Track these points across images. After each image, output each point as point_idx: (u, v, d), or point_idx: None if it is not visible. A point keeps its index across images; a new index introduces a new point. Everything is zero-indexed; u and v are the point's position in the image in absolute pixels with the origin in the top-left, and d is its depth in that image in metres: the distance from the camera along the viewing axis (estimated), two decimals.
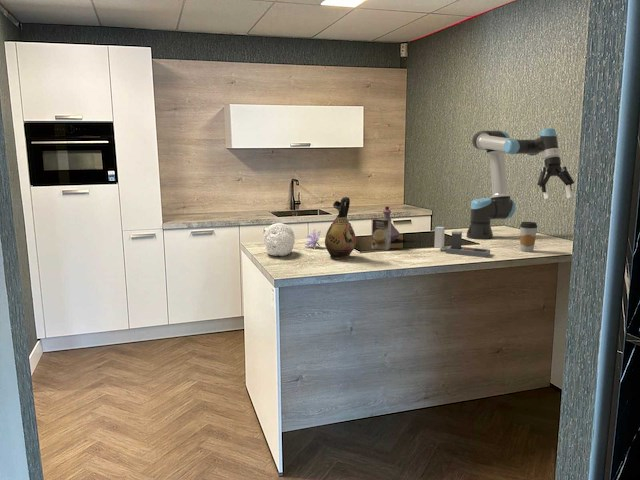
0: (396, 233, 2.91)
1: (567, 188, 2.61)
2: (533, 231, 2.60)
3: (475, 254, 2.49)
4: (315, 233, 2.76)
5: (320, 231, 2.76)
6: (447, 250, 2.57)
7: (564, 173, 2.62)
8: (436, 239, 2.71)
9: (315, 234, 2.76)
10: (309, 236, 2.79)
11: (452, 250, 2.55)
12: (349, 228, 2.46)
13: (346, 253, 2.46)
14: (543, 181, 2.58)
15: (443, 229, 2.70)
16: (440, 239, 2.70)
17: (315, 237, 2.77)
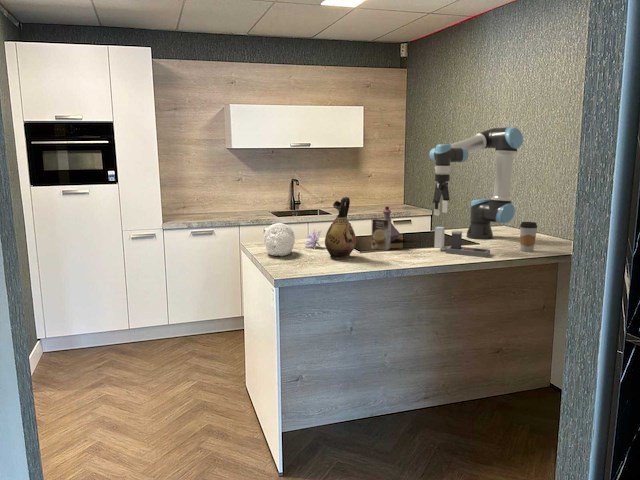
0: (396, 233, 2.91)
1: None
2: (533, 231, 2.60)
3: (475, 254, 2.49)
4: (315, 233, 2.76)
5: (320, 231, 2.76)
6: (447, 250, 2.57)
7: None
8: (436, 239, 2.71)
9: (315, 234, 2.76)
10: (309, 236, 2.79)
11: (452, 250, 2.55)
12: (349, 228, 2.46)
13: (346, 253, 2.46)
14: None
15: (443, 229, 2.70)
16: (440, 239, 2.70)
17: (315, 237, 2.77)
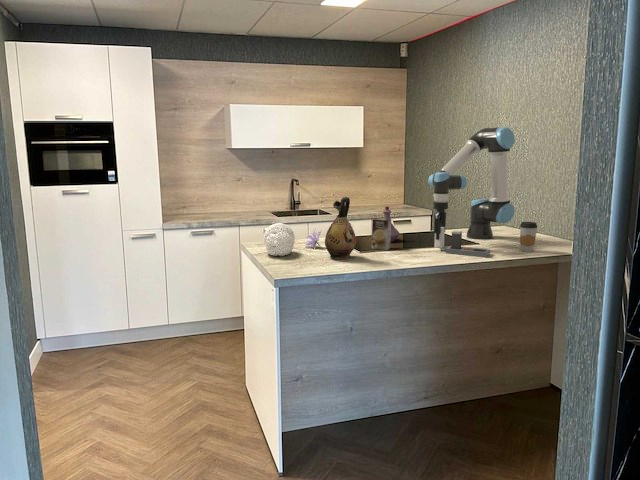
0: (396, 233, 2.91)
1: None
2: (533, 231, 2.60)
3: (475, 254, 2.49)
4: (315, 233, 2.76)
5: (320, 231, 2.76)
6: (447, 250, 2.57)
7: None
8: None
9: (315, 234, 2.76)
10: (309, 236, 2.79)
11: (452, 250, 2.55)
12: (349, 228, 2.46)
13: (346, 253, 2.46)
14: None
15: (443, 229, 2.70)
16: None
17: (315, 237, 2.77)
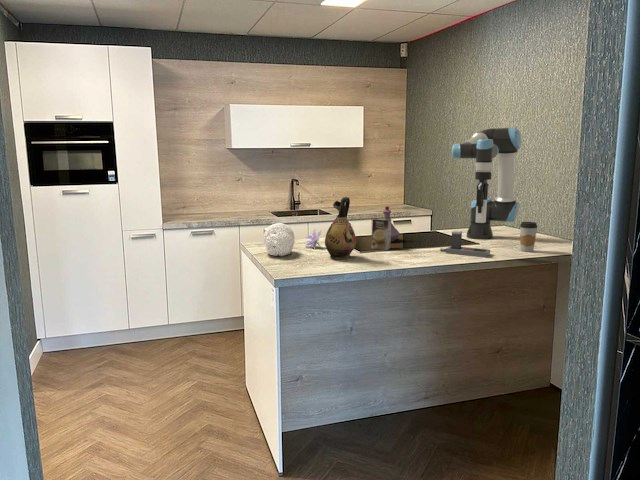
0: (396, 233, 2.91)
1: None
2: (533, 231, 2.60)
3: (475, 254, 2.49)
4: (315, 233, 2.76)
5: (320, 231, 2.76)
6: (447, 250, 2.57)
7: None
8: None
9: (315, 234, 2.76)
10: (309, 236, 2.79)
11: (452, 250, 2.55)
12: (349, 228, 2.46)
13: (346, 253, 2.46)
14: None
15: (485, 202, 2.47)
16: None
17: (315, 237, 2.77)
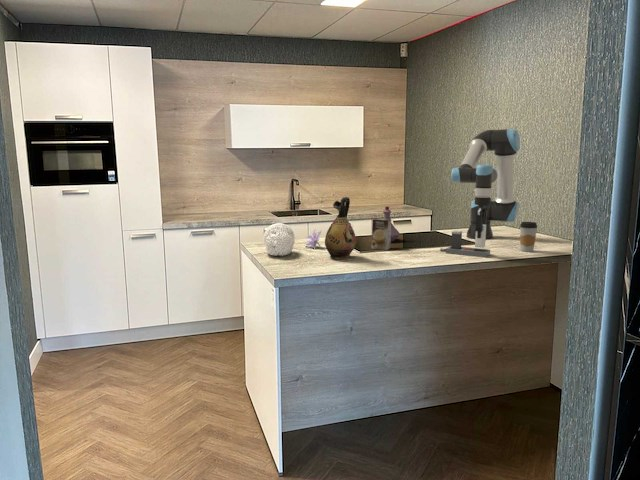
0: (396, 233, 2.91)
1: None
2: (533, 231, 2.60)
3: (475, 254, 2.49)
4: (315, 233, 2.76)
5: (320, 231, 2.76)
6: (447, 250, 2.57)
7: None
8: None
9: (315, 234, 2.76)
10: (309, 236, 2.79)
11: (452, 250, 2.55)
12: (349, 228, 2.46)
13: (346, 253, 2.46)
14: None
15: (485, 227, 2.49)
16: (482, 237, 2.49)
17: (315, 237, 2.77)
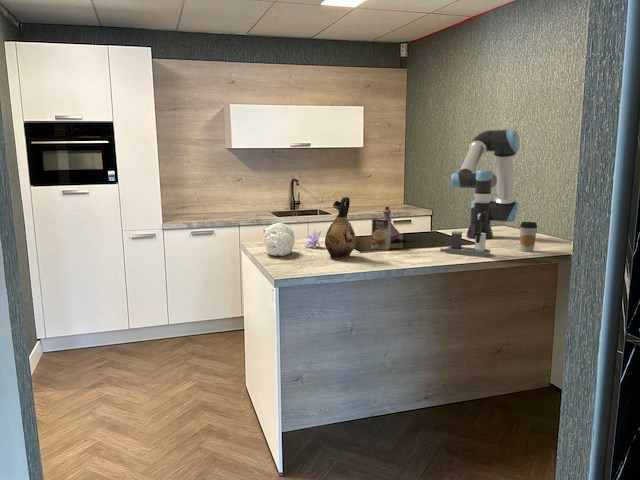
0: (396, 233, 2.91)
1: None
2: (533, 231, 2.60)
3: (475, 254, 2.49)
4: (315, 233, 2.76)
5: (320, 231, 2.76)
6: (447, 250, 2.57)
7: None
8: None
9: (315, 234, 2.76)
10: (309, 236, 2.79)
11: (452, 250, 2.55)
12: (349, 228, 2.46)
13: (346, 253, 2.46)
14: None
15: (484, 235, 2.50)
16: (481, 246, 2.50)
17: (315, 237, 2.77)
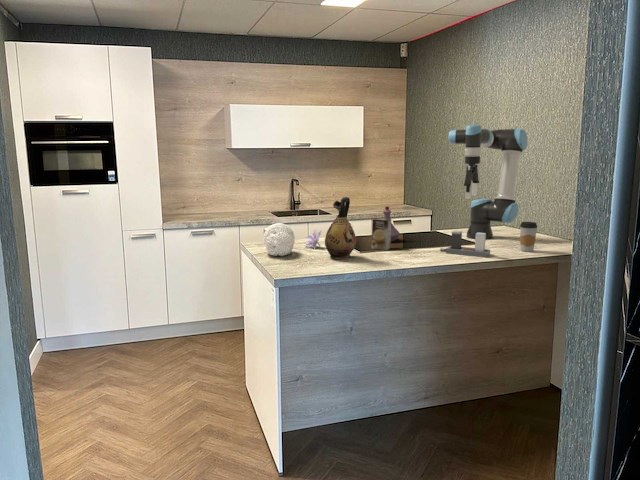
0: (396, 233, 2.91)
1: None
2: (533, 231, 2.60)
3: (475, 254, 2.49)
4: (315, 233, 2.75)
5: (320, 231, 2.76)
6: (447, 250, 2.57)
7: None
8: (477, 246, 2.51)
9: (315, 234, 2.76)
10: (310, 236, 2.79)
11: (452, 250, 2.55)
12: (349, 228, 2.46)
13: (346, 253, 2.46)
14: None
15: (484, 235, 2.50)
16: (481, 246, 2.50)
17: (315, 237, 2.77)
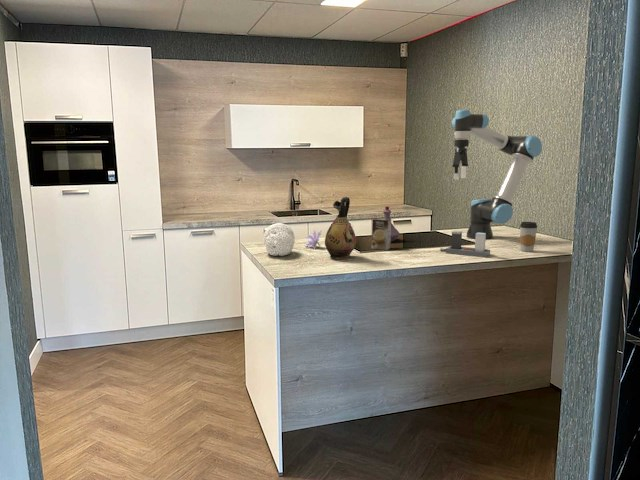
0: (396, 233, 2.91)
1: None
2: (533, 231, 2.60)
3: (475, 254, 2.49)
4: (315, 233, 2.75)
5: None
6: (447, 250, 2.57)
7: None
8: (477, 246, 2.51)
9: (315, 234, 2.76)
10: (310, 236, 2.79)
11: (452, 250, 2.55)
12: (349, 228, 2.46)
13: (346, 253, 2.46)
14: None
15: (484, 235, 2.50)
16: (481, 246, 2.50)
17: (316, 237, 2.77)
